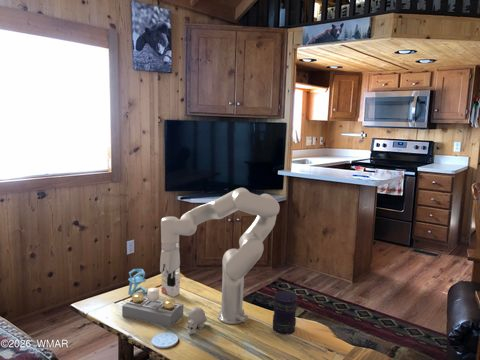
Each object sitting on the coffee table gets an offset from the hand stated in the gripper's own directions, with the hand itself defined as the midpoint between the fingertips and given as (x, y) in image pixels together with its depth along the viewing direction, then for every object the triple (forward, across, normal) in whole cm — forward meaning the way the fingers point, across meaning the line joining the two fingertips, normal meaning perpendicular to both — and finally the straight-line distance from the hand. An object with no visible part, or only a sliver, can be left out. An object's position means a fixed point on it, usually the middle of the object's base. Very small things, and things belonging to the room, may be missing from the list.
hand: (171, 285), depth 164 cm
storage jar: (+18, -11, +48) cm, 52 cm away
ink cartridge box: (+16, -22, -13) cm, 30 cm away
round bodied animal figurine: (+16, +4, +13) cm, 21 cm away
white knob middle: (+7, +1, -9) cm, 11 cm away
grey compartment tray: (+15, +1, -9) cm, 18 cm away
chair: (+15, -16, -29) cm, 36 cm away
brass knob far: (+10, +1, -17) cm, 20 cm away
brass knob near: (+10, +1, -1) cm, 11 cm away
